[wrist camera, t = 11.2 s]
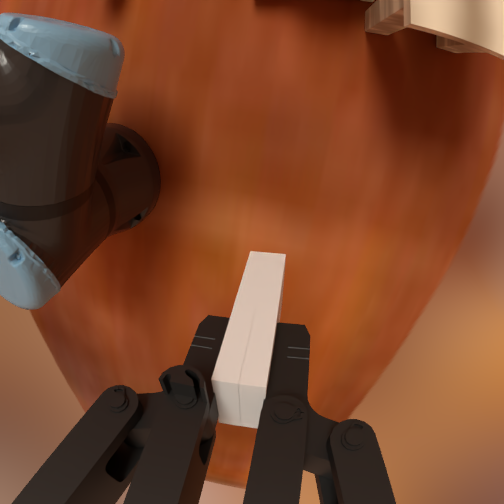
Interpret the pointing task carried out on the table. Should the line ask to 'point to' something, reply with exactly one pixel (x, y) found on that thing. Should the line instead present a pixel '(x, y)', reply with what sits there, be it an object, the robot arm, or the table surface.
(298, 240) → the table surface
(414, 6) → the bridge
